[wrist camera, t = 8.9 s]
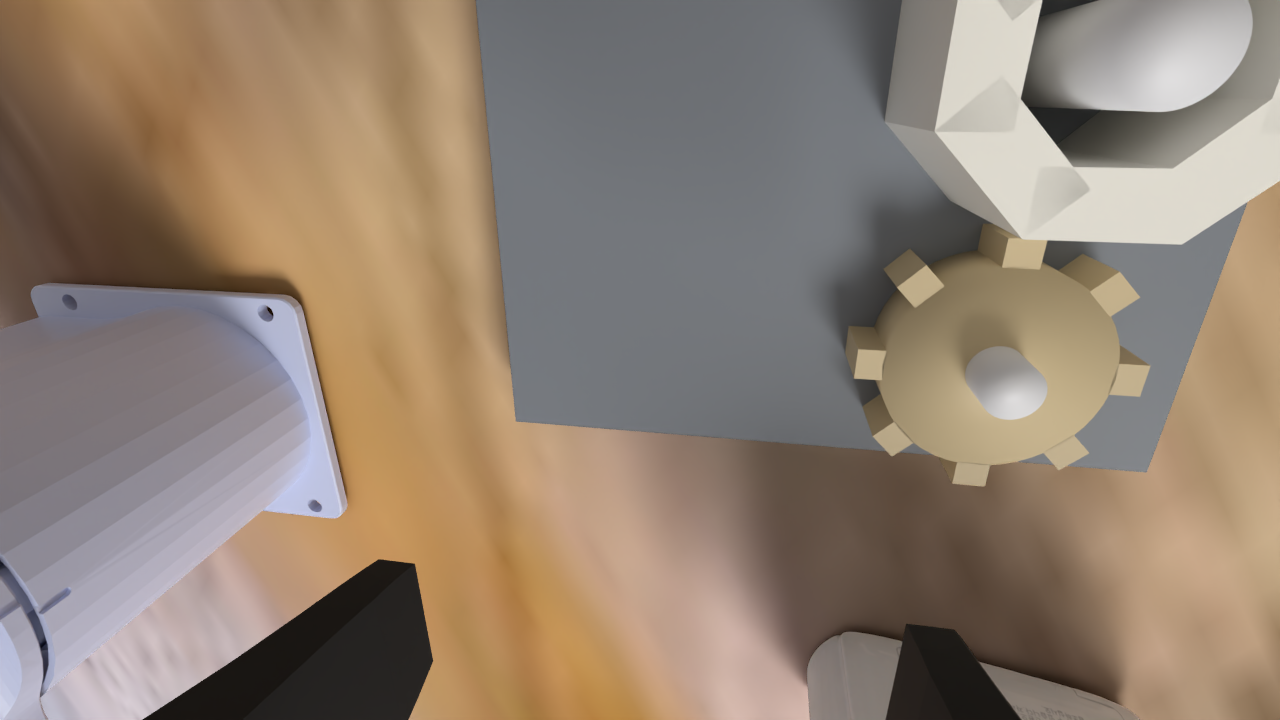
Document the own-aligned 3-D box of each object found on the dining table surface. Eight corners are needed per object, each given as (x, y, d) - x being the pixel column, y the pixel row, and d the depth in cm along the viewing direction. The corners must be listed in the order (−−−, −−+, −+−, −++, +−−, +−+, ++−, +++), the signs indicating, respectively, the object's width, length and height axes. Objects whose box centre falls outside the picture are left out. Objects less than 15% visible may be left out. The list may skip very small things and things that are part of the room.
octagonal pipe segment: (873, 198, 14) (916, 236, 10) (916, -99, 11) (990, -189, 8) (1146, 205, 13) (1302, 248, 9) (1247, -115, 11) (1501, -223, 7)
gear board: (533, 398, 19) (442, 520, 13) (464, -449, 12) (214, -918, 6) (1114, 441, 16) (1293, 613, 11) (1470, -604, 9) (2494, -1605, 4)
